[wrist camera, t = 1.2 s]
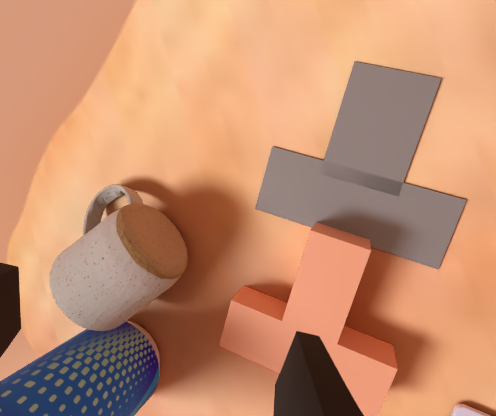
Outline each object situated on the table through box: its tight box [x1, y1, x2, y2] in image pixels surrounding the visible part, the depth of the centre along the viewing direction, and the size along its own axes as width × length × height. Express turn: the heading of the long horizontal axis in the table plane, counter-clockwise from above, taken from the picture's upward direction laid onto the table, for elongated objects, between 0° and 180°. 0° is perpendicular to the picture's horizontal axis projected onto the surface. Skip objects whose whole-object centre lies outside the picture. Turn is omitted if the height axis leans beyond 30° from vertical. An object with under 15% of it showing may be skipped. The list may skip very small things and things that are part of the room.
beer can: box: [0, 321, 160, 416], centre depth 25 cm, size 8×8×16 cm
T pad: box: [255, 62, 466, 269], centre depth 24 cm, size 12×14×1 cm
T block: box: [219, 222, 398, 416], centre depth 24 cm, size 11×12×3 cm
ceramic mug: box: [50, 185, 188, 331], centre depth 27 cm, size 11×8×8 cm
